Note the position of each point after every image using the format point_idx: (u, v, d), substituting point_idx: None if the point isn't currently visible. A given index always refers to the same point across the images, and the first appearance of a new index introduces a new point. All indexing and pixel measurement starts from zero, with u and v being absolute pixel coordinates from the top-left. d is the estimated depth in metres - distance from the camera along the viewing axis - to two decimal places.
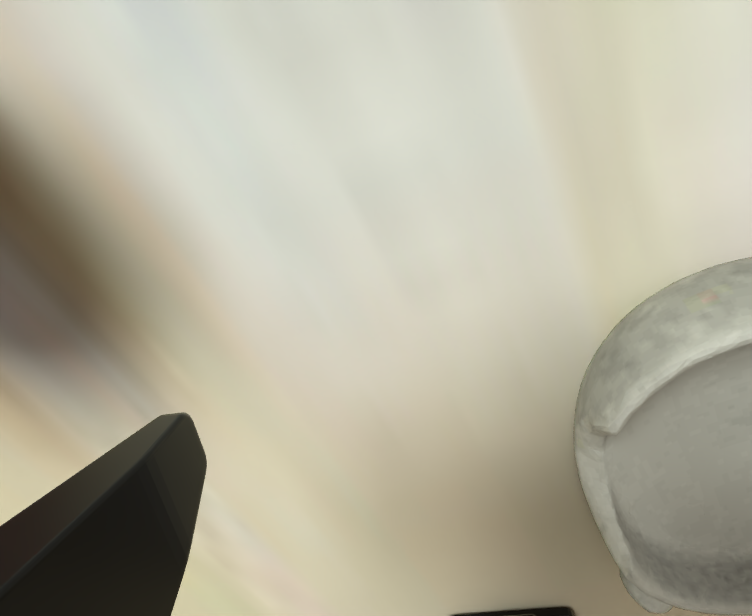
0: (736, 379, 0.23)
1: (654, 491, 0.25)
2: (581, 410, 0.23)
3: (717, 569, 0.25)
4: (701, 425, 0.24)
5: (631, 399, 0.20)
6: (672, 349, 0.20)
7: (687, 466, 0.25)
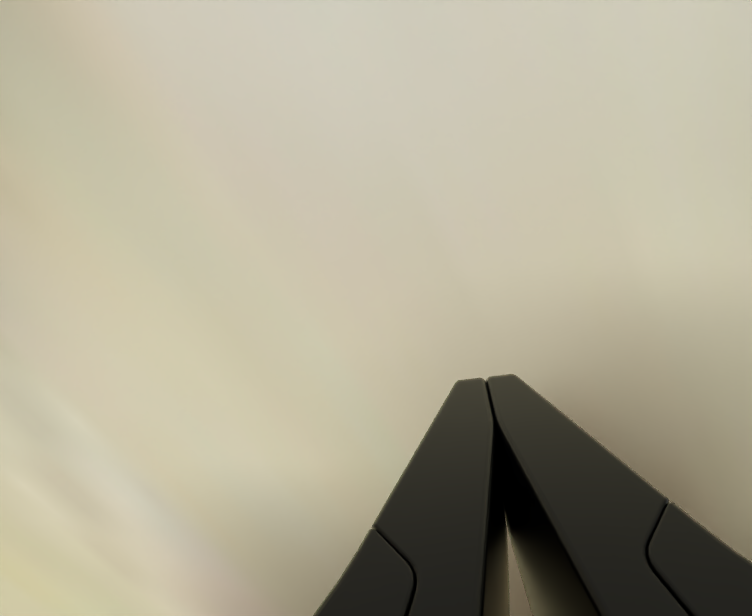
0: None
1: None
2: None
3: None
4: None
5: None
6: None
7: None
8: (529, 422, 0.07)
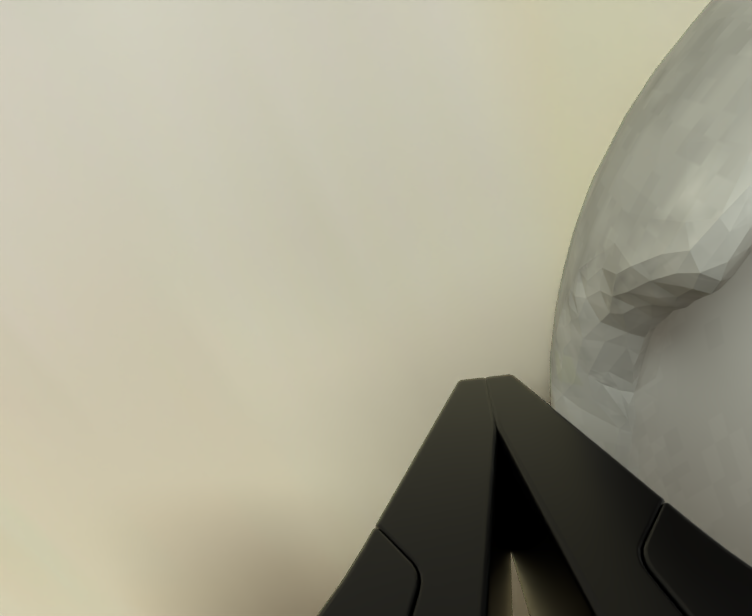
0: None
1: (751, 515, 0.10)
2: (578, 257, 0.08)
3: None
4: None
5: None
6: None
7: None
8: (526, 423, 0.07)
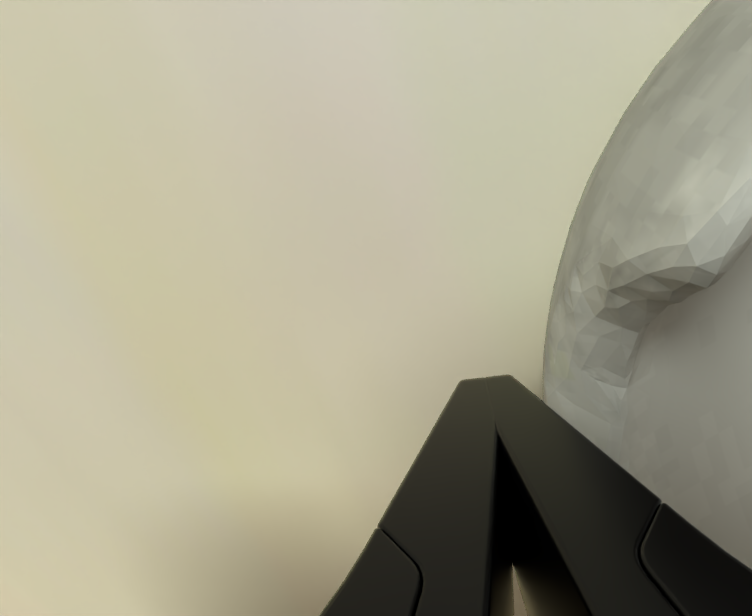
0: None
1: (738, 513, 0.10)
2: (575, 251, 0.08)
3: None
4: None
5: None
6: None
7: None
8: (524, 423, 0.07)
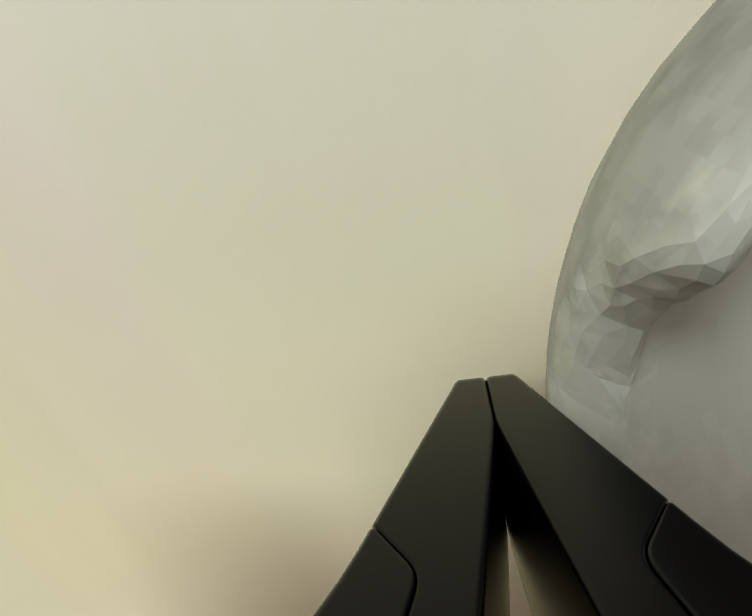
0: None
1: (740, 511, 0.10)
2: (580, 249, 0.08)
3: None
4: None
5: None
6: None
7: None
8: (529, 422, 0.07)
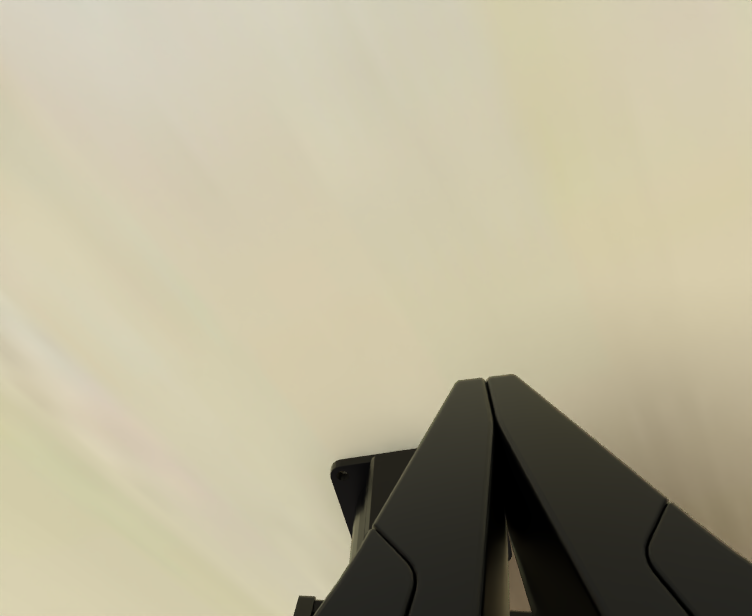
0: None
1: None
2: None
3: None
4: None
5: None
6: None
7: None
8: (529, 422, 0.07)
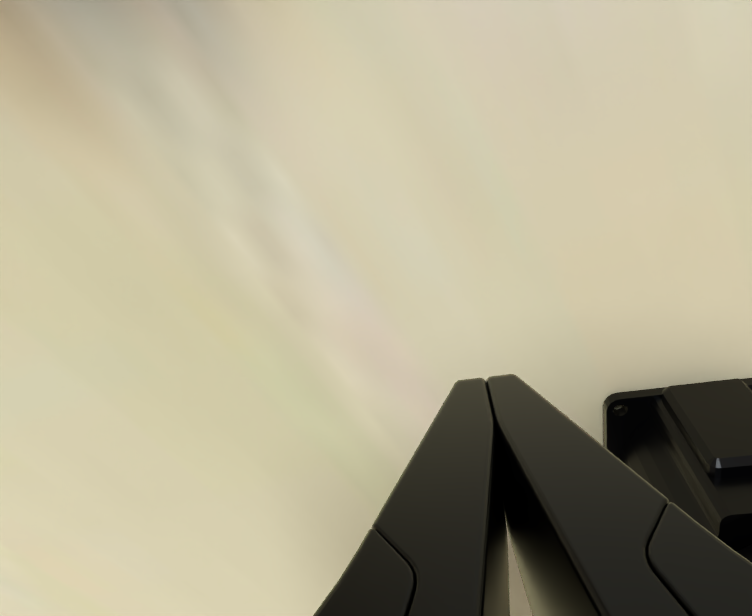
0: None
1: None
2: None
3: None
4: None
5: None
6: None
7: None
8: (529, 422, 0.07)
